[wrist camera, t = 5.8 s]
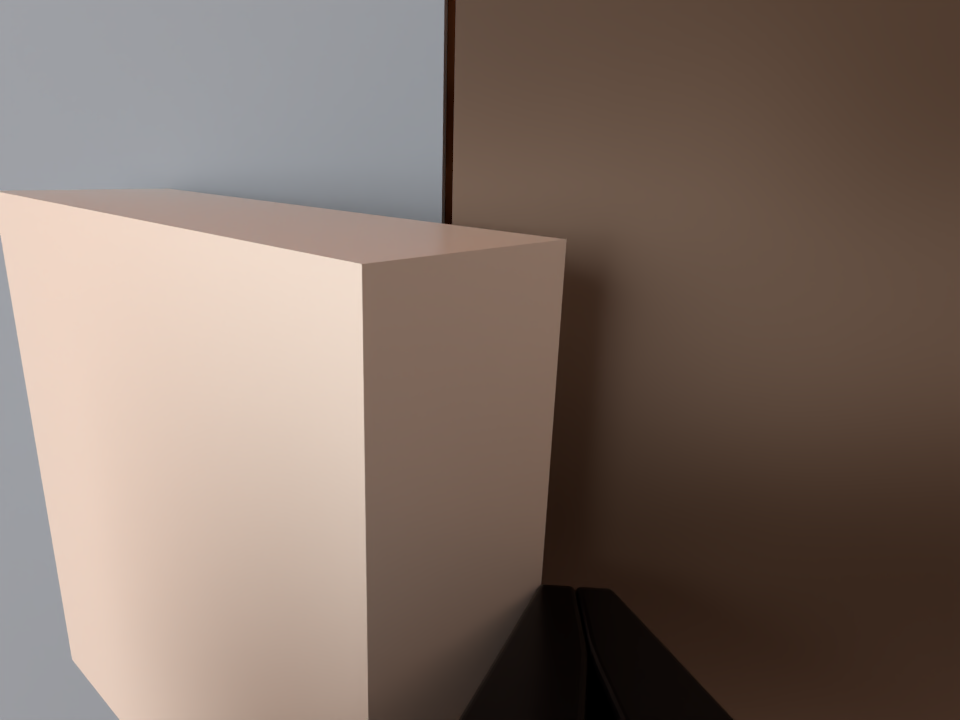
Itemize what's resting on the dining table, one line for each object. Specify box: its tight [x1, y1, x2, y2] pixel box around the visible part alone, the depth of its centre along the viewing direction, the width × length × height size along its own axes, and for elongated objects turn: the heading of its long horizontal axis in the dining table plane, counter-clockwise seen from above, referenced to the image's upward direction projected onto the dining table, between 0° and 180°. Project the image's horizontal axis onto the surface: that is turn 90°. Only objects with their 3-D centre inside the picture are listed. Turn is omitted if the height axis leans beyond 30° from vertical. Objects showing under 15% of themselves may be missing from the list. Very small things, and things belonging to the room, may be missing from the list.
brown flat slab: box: [452, 0, 960, 720], centre depth 11 cm, size 16×14×4 cm
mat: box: [0, 0, 448, 720], centre depth 13 cm, size 18×11×1 cm, turn 178°
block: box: [0, 189, 567, 720], centre depth 9 cm, size 8×8×2 cm
